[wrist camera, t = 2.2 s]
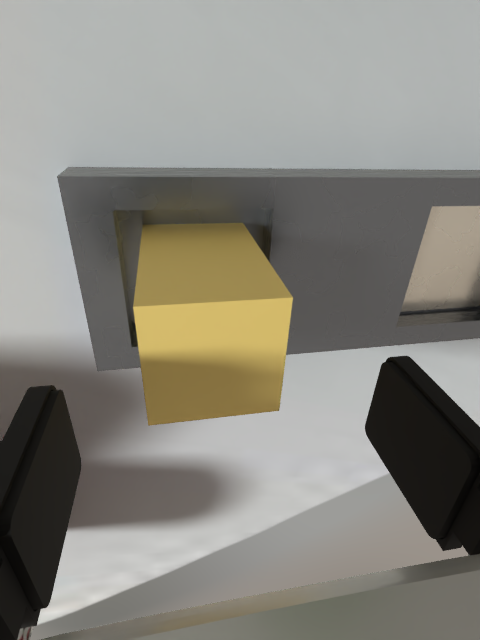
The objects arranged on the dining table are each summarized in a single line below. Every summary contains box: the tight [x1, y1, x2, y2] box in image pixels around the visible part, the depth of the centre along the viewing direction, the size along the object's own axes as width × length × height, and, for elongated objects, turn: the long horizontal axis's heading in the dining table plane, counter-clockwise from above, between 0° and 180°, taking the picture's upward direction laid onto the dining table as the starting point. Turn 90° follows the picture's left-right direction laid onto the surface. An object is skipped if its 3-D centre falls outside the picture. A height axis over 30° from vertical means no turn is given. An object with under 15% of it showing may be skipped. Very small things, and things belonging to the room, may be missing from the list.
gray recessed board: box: [57, 167, 480, 371], centre depth 19 cm, size 9×24×2 cm, turn 88°
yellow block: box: [133, 223, 293, 426], centre depth 15 cm, size 4×4×8 cm
